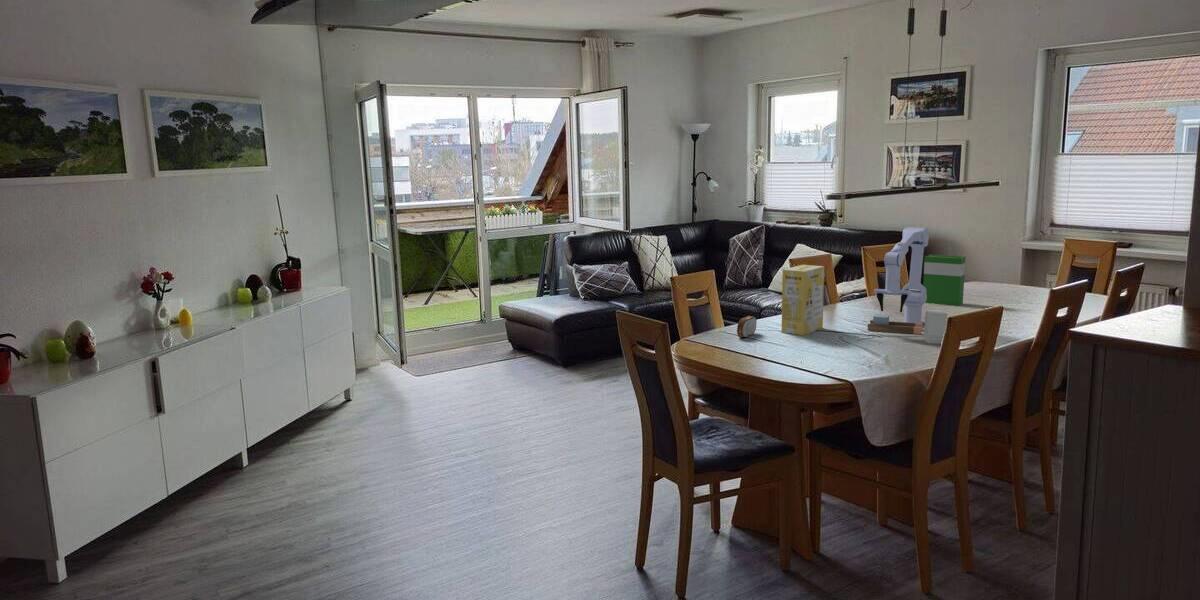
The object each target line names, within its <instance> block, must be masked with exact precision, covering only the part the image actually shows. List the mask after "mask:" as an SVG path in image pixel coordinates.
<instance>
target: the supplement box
mask: <svg viewBox="0 0 1200 600" xmlns="http://www.w3.org/2000/svg"><path fill="white" fill-rule="evenodd" d="M946 319H947V320H948V313H947V312H946V311H944V310H938V309H937V310H936V309H935V310H931V309H930V310H925V313H924V326H923V329H924V331H923V341H925V343H927V344H933V345H934V344H935V345H936V344H937V345H939V344H941V341H942V338H943V334H944V331H945V326H946ZM946 327H947V326H946ZM941 345H942V344H941Z"/></svg>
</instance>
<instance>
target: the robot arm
mask: <svg viewBox="0 0 1200 600" xmlns="http://www.w3.org/2000/svg"><path fill="white" fill-rule="evenodd" d="M901 236H902V239H901V241H899V242H897V243H895V245H894V246H893V248H892V249H891V250H890V251H888V252H886V253H885V255H884V258H883V262H884V269H885V287H884V288H875V289H874V290H873V291H874V293H873V294H874V295H876V298H877V300H878V303H879V306H880V311H881V312H883V311H884V295H890V296H900V307H899V313H902V312H903V308H904V319H903V322H909V323H923V322H924V321H923V320H922V315H923V311H922V310H923V306H924V305H925V304H926V303H925V302H926V299H927V294H926V288H925V287H924V286H923V284H922V283H921V281H922V272H923V270H922V269H923V262H924V250H925V247H928V245H929V239H930V237H929V236H930V232H929V229H928V228H927V227H909V226H905V227H904V229H903V230H902V235H901ZM909 247H911V259H910V267H909V268H910V270H909V280H908V283H907V284H905V285H904V286H903V287H902V289H901V287H900V286H901V267H902V266H903V262H904V260H905V256H906V254H907V253H908V252H909Z"/></svg>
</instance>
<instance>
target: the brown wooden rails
mask: <svg viewBox="0 0 1200 600" xmlns="http://www.w3.org/2000/svg"><path fill="white" fill-rule="evenodd" d="M923 329H924V324H923V323H909V322H904V321H890V320H889V325H880V324H873V319H870V320H869V323H867V331H868V330H869V332H880V331H882V332H883V333H884V332H885V333H895V332H896V333H897V334H910V335H911V334H912V335H913V334H914V335H922V331H923Z"/></svg>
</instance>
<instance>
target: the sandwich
mask: <svg viewBox="0 0 1200 600" xmlns="http://www.w3.org/2000/svg"><path fill="white" fill-rule="evenodd" d="M757 322H758V321H757V317H755V316H753V315H752V316H751V315H747V316H745V317H742V318H740V319H739V321H738V323H737V327H736V334H737V337H738V338H742V337H746V336H748V335H750V336H752V335H754V334H755V332H756V330H757V329H756V328H757ZM753 333H754V334H753ZM751 334H752V335H751ZM748 337H749V336H748ZM746 338H747V337H746Z"/></svg>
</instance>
